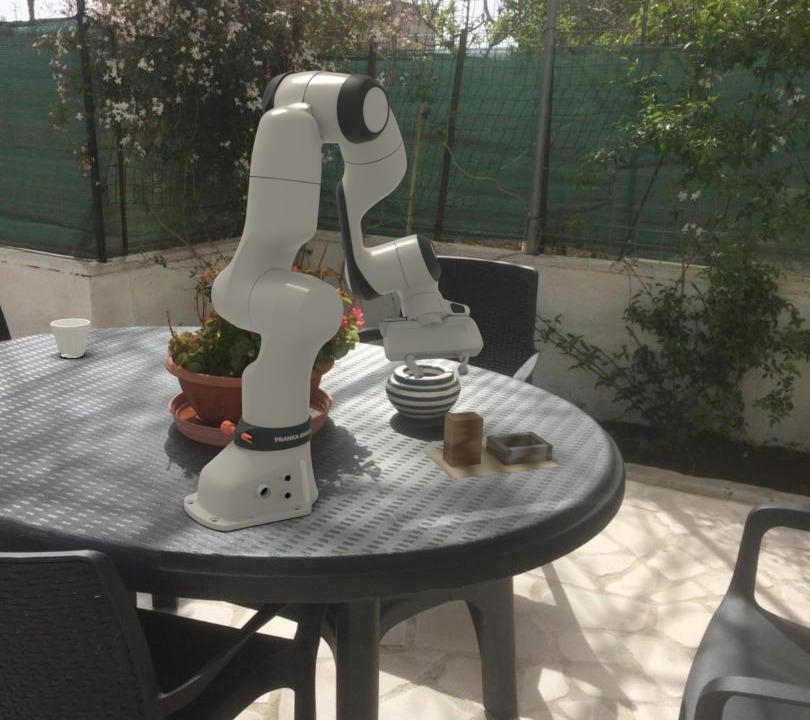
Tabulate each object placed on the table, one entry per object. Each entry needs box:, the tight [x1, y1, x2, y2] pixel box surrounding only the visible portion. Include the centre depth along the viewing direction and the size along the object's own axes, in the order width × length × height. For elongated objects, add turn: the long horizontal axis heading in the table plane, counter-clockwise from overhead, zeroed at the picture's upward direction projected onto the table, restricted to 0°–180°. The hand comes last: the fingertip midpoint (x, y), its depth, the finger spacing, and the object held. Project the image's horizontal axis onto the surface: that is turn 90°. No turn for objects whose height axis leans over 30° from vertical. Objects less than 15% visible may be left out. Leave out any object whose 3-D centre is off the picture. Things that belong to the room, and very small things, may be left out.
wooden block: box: [442, 411, 484, 467], centre depth 155 cm, size 6×4×9 cm, turn 110°
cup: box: [50, 318, 91, 355], centre depth 222 cm, size 10×10×9 cm
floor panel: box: [422, 431, 560, 480], centre depth 158 cm, size 22×14×4 cm, turn 110°
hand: (442, 375), depth 163 cm, fingers open, 8 cm apart
